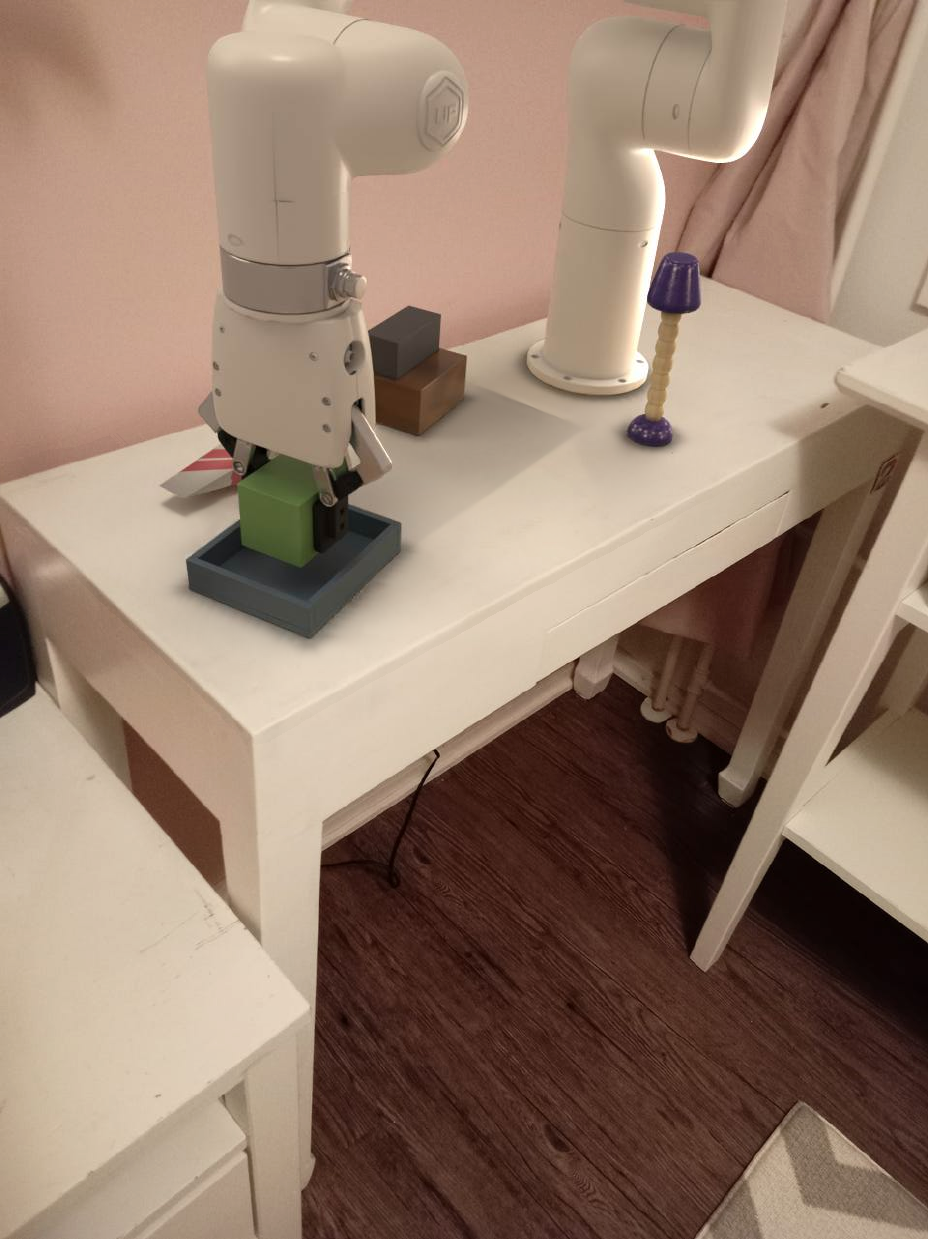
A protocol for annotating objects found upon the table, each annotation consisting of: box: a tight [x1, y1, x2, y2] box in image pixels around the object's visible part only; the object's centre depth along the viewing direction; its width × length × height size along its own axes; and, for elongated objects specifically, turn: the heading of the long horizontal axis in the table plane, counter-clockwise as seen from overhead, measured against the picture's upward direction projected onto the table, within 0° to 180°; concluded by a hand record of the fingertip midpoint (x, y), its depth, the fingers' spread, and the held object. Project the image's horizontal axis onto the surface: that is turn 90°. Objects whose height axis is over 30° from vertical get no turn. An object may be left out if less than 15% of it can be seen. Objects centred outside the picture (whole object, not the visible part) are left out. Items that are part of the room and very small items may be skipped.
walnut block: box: [373, 347, 468, 437], centre depth 92 cm, size 9×9×4 cm
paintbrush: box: [159, 443, 281, 499], centre depth 82 cm, size 4×3×20 cm
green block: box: [236, 454, 336, 568], centre depth 68 cm, size 6×5×5 cm
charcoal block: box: [368, 305, 442, 380], centre depth 89 cm, size 8×4×4 cm, turn 153°
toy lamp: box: [626, 251, 702, 447], centre depth 87 cm, size 5×5×17 cm
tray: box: [185, 503, 402, 639], centre depth 71 cm, size 12×10×3 cm
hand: (295, 528), depth 69 cm, fingers closed on green block, 5 cm apart
